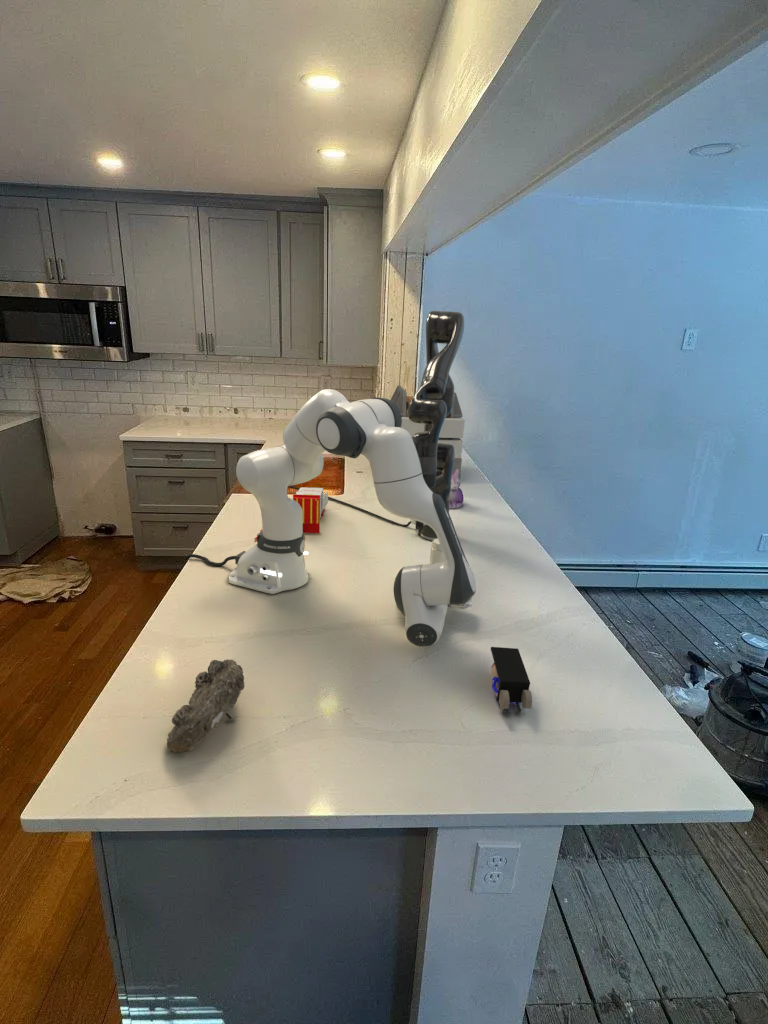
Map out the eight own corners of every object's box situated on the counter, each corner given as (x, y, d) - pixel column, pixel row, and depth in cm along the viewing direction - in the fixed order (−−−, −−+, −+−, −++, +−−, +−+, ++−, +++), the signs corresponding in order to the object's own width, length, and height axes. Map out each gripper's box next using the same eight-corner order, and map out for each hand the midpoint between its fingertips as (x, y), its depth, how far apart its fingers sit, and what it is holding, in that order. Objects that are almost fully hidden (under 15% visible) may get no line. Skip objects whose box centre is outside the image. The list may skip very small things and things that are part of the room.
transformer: (382, 463, 289) (386, 382, 275) (445, 464, 293) (451, 384, 279) (390, 482, 257) (394, 392, 243) (460, 483, 261) (468, 394, 247)
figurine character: (531, 725, 112) (514, 671, 125) (537, 696, 108) (519, 644, 122) (497, 724, 111) (484, 671, 125) (502, 695, 108) (488, 644, 121)
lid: (418, 518, 169) (419, 511, 168) (431, 523, 165) (432, 515, 164) (406, 521, 165) (407, 514, 164) (419, 526, 162) (420, 519, 161)
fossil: (192, 660, 117) (244, 628, 112) (224, 691, 120) (276, 661, 115) (142, 746, 98) (202, 712, 93) (182, 779, 101) (242, 748, 96)
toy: (329, 482, 221) (323, 496, 191) (328, 516, 224) (322, 535, 194) (297, 482, 220) (287, 495, 191) (297, 515, 223) (287, 534, 194)
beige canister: (444, 597, 157) (449, 539, 151) (440, 605, 153) (446, 545, 147) (429, 594, 158) (433, 536, 152) (425, 601, 154) (429, 542, 148)
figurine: (450, 510, 225) (453, 474, 220) (436, 502, 234) (439, 467, 228) (469, 507, 229) (473, 472, 224) (455, 500, 238) (458, 465, 233)
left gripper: (473, 597, 139) (476, 573, 151) (391, 586, 142) (400, 563, 155) (471, 619, 141) (474, 594, 153) (390, 608, 144) (399, 584, 157)
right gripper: (410, 462, 167) (407, 517, 172) (409, 475, 153) (405, 534, 159) (436, 464, 166) (432, 518, 172) (436, 477, 153) (432, 536, 158)
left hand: (436, 578), depth 154 cm, fingers closed on beige canister, 4 cm apart
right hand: (419, 525), depth 165 cm, fingers closed on lid, 5 cm apart
